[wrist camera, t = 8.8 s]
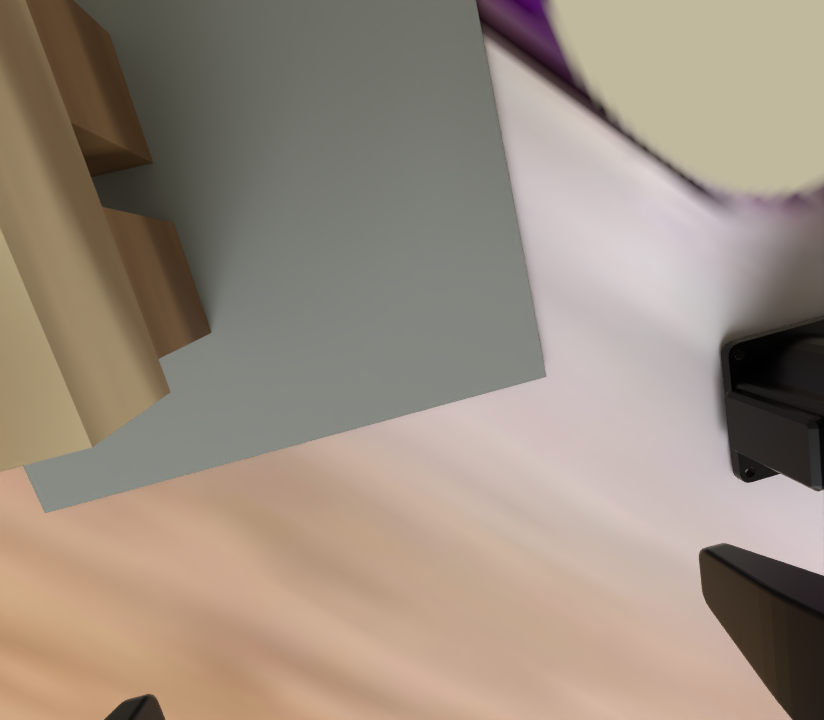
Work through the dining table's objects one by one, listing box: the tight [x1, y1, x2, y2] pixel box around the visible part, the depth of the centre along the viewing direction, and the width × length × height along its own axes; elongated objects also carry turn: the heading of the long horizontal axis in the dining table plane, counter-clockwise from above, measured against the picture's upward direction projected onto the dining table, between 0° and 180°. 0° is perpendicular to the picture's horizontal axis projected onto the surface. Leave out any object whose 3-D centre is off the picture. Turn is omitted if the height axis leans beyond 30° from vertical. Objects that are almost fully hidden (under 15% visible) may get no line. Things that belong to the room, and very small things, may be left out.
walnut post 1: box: [26, 0, 153, 177], centre depth 13 cm, size 4×4×5 cm
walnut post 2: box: [102, 207, 211, 359], centre depth 15 cm, size 4×4×5 cm
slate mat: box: [24, 0, 546, 513], centre depth 17 cm, size 20×18×1 cm
